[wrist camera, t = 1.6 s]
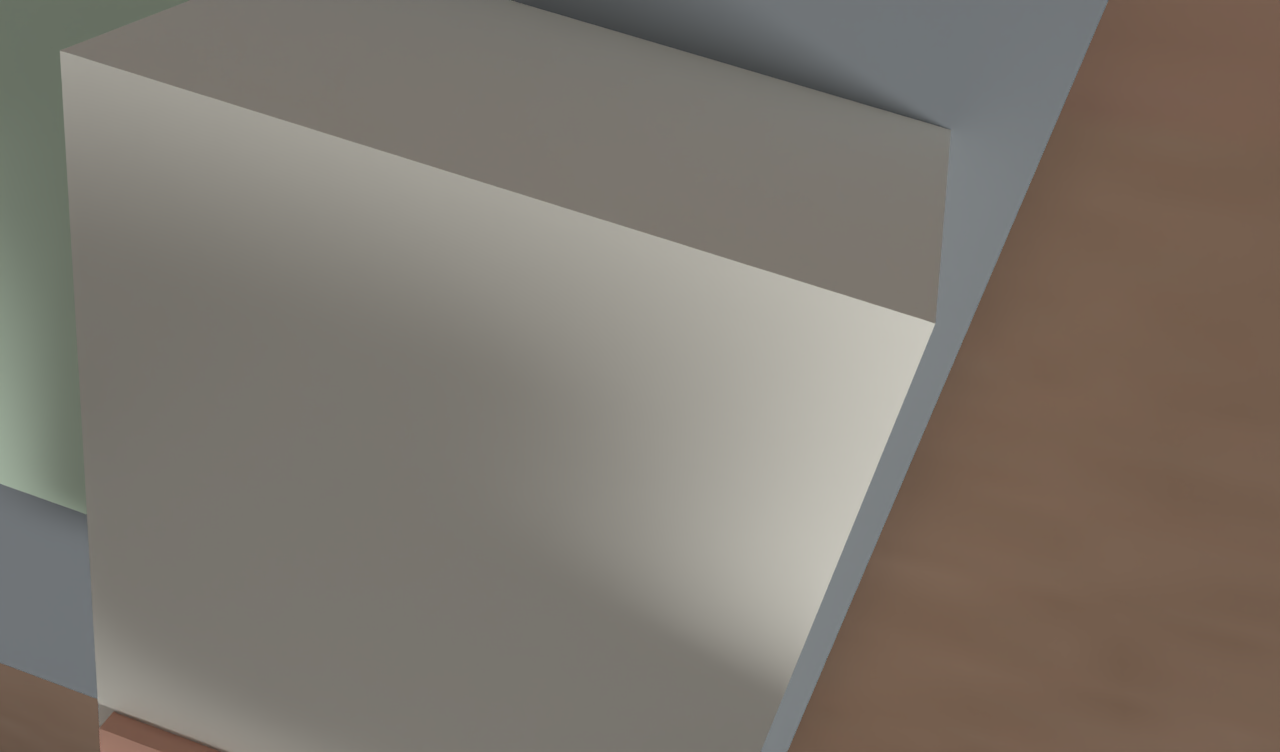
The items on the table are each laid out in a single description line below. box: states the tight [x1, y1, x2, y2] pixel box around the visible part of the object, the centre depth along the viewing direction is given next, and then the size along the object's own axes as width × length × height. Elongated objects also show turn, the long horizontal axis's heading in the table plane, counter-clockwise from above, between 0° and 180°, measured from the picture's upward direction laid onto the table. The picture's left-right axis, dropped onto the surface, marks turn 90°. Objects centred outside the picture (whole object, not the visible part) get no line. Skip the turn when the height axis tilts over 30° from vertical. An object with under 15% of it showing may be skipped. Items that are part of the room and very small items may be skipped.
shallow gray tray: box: [0, 0, 1108, 752], centre depth 13 cm, size 18×14×1 cm
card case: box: [60, 0, 951, 752], centre depth 10 cm, size 8×6×4 cm
